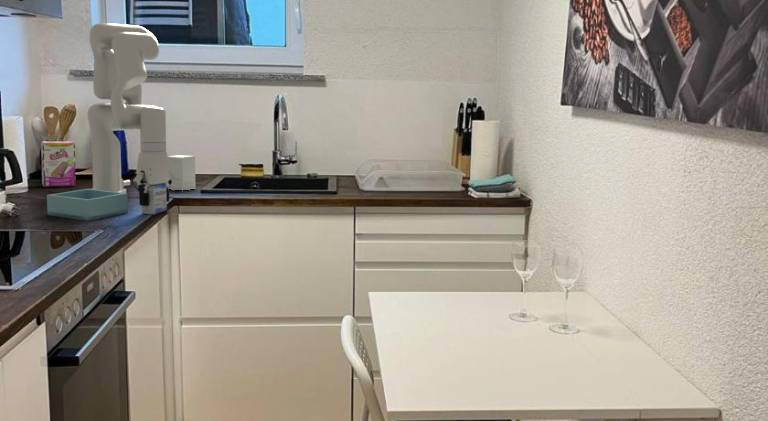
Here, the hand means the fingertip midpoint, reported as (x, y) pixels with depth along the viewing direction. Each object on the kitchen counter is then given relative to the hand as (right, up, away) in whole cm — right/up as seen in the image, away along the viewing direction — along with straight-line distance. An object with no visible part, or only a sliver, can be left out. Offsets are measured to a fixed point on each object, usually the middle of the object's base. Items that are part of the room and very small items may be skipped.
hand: (154, 203), depth 234 cm
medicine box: (0, -3, +1) cm, 3 cm away
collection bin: (-18, -3, -6) cm, 19 cm away
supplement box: (-4, +5, +48) cm, 48 cm away
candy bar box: (-49, +7, +46) cm, 68 cm away
